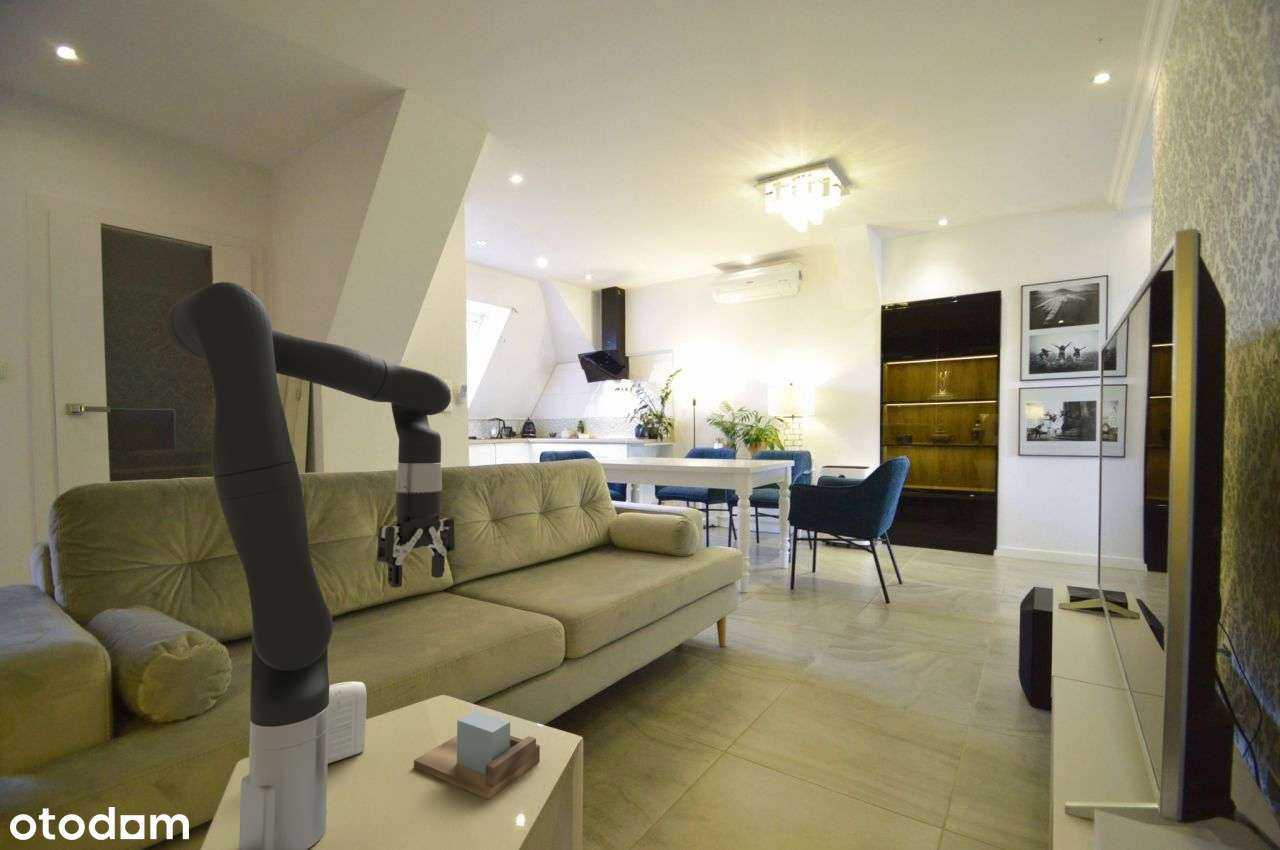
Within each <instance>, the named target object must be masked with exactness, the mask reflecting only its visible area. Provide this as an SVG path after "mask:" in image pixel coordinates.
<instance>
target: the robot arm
mask: <svg viewBox="0 0 1280 850" xmlns="http://www.w3.org/2000/svg"><path fill="white" fill-rule="evenodd" d="M271 323H272V322H271V319H270V315H269V314H268V311H267V308H266V307H265V305H264V303H263V302H262V301H261V300H260V298H259V297H258V296H257V295H256V294H255V293H253V292H252V291H251V290H249V289H248V288H247V287H245V286H243V285H240V284H238V283H236V282H230V281H221V282H220V281H219V282H215V283H210V284H207V285H205V286H203V287H201V288H198V289H197V290H195V291H192V293H189V294H188V295H186V296H183V297H182V298H181V299H179V300H178V301H177V302H175V303H174V304H173V305H171V307H170V308H169V310H168V311H167V313H166V316H165V319H164V326H165V331H166V334H167V336H168V338H169V339H170V341H171V343H172V344H173V345H174V346H175V347H176V348H177V349H178V350H180V351H181V352H182V353H184V354H186V355H187V356H190V357H192V358H193V359H197V360H201V361H205V362H206V364H207V368H208V371H209V375H210V379H211V382H212V385H213V386H212V387H213V392H214V394H213V395H214V417H213V425H212V434H211V435H212V436H211V446H210V447H211V450H210V453H211V454H210V461H211V470H212V474H213V475H212V476H213V479H214V482H215V483H214V484H215V488H216V492H217V497H218V501H219V504H220V508H221V510H222V514H223V516H224V520H225V523H226V526H227V529H228V532H229V535H230V538H231V541H232V543H233V546H234V547H235V550H236V552H237V555H238V558H239V560H240V562H241V564H242V568H243V571H244V574H245V577H246V578H245V579H246V581H247V587H248V593H249V602H250V608H251V619H252V628H251V629H252V630H251V668H250V669H251V670H250V671H251V672H250V673H251V674H250V701H249V702H250V704H249V705H250V708H249V709H250V712H249V713H250V721H249V747H248V750H249V751H248V752H249V753H248V754H249V755H248V774H247V775H245V776H243V777H242V779H241V780H240V807H239V808H240V809H239V814H240V815H239V835H238V837H239V838H238V840H239V841H238V843H239V844H238V848H239V849H238V850H308V849H309V848H310V849H311V848H312V847H313V846H314V845H315V844H316V843H317V842H318V841H319V840H321V839H322V838H323V835H324V834H325V831H326V829H327V813H328V811H327V805H328V804H327V799H328V798H327V797H328V794H327V793H328V792H327V791H328V724H329V686H330V678H329V663H328V661H329V660H328V657H329V656H328V653H329V652H328V648H329V647H328V646H329V644H330V642H331V639H332V636H333V631H334V619H333V616H332V614H331V611H330V609H329V607H328V605H327V603H326V601H325V599H324V596H323V593H322V591H321V588H320V585H319V582H318V580H317V576H316V573H315V570H314V566H313V562H312V559H311V553H310V545H309V544H310V543H309V532H308V521H307V514H306V513H307V512H306V505H305V500H304V499H305V498H304V493H303V488H302V482H301V477H300V474H299V469H298V465H297V461H296V457H295V453H294V451H293V450H294V449H293V446H292V445H293V444H292V442H291V436H290V432H289V428H288V422H287V419H286V415H285V411H284V406H283V403H282V399H281V396H280V395H281V394H280V389H279V384H278V376H277V374H279V375H283V376H287V377H292V378H294V379H299V380H301V381H306V382H309V383H313V384H317V385H320V386H322V387H327V388H330V389H333V390H336V391H339V392H343V393H345V394H349V395H351V396H354V397H358V398H359V399H360V398H361V399H364V400H367V401H370V402H371V401H372V402H376V403H390V405H391V412H392V418H393V422H394V426H395V431H396V434H397V437H398V457H397V458H398V460H397V462H398V463H397V470H396V471H397V472H396V477H395V516H396V518H397V521H396V525H394V526H392V525H391V526H389V525H380V526H379V529H378V538H377V539H378V540H377V551H376V561H377V562H378V563H381V564H382V563H383V564H386V565H387V582H388V584H389V585H390V587H391V588H394V589H395V588H396V589H398V588H401V587H402V586H403V565H402V563H403V562H404V560H405V557H406V556H407V555H409V554H410V553H411V551H412V550H413V549H419V548H420V547H427V548H428V549H429V550H430V552H431V553H432V554H433V555H431V577H432V578H437V579H440V578H442V577H443V576H444V572H445V559H446V555H447V554H448V553H449V552H453V551H454V550H455V548H456V547H455V520H454V519H453V518H449V517H441V518H440V517H439V516H440V515H441V514H442V505H443V504H442V503H443V502H442V499H443V497H442V496H443V472H442V463H441V462H442V438H441V435H440V433H439V432H437V431H436V430H434V429H432V428H430V423H429V419H428V416H434V415H438V414H441V413H442V412H444V411H445V410H446V409H447V408H448V407H449V406H450V403H451V399H452V394H451V390H450V387H449V386H448V384H447V382H445V380H443V379H442V378H441V377H439V376H438V375H435V374H433V373H430V372H428V371H423V370H420V369H419V370H418V369H415V368H411V367H407V366H402V365H397V364H393V363H391V362H388V361H386V360H385V359H381V358H379V357H377V356H373V355H371V354H369V353H366V352H364V351H361V350H357V349H355V348H350V347H347V346H343V345H339V344H335V343H334V344H333V343H329V342H322V341H318V340H312V339H307V338H302V337H298V336H294V335H290V334H286V333H284V332H280V331H278V330H276V329H272V324H271ZM438 533H439V534H438ZM396 537H397V538H396ZM395 539H396V540H395Z"/></svg>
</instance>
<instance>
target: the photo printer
mask: <svg viewBox="0 0 1280 850" xmlns="http://www.w3.org/2000/svg"><path fill="white" fill-rule="evenodd" d="M367 697H368V696H367V689H366V684H365V683H364V682H363V681H343V682H338V683H334V684H331V685H330V684H329V724H328V764H332V763H334V762H337V761H340V760H343V759H347V758H350V757H352V756H354V755H357V754H360V753H363V752H364V751H365V747H366V724H367V723H366V722H367V720H366V719H367ZM328 764H327V765H328Z"/></svg>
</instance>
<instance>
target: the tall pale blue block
mask: <svg viewBox="0 0 1280 850" xmlns="http://www.w3.org/2000/svg"><path fill="white" fill-rule="evenodd" d="M456 726H457V727H456V728H457V729H456V730H457V731H456V736H457V764H460V765H462V766H465V767H467V768H470V769H472V770H475V771H477V772H480V773H482V774H485V775H486V764H488V763H489V762H491V761H492V760H494V759H495V758H497V757H498V756H500V755H501V754H503V753H504V752H506V751H507V750H509V749H510V735H511V721H509V720H506V719H503V718H500V717H497V716H494V715H491V714H488V713H484V712H482V711H478V710H473V711H472V712H470V713H468V714H466V715H465V716H463V717H461V718H459V719H457V723H456Z"/></svg>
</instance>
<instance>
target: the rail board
mask: <svg viewBox="0 0 1280 850" xmlns="http://www.w3.org/2000/svg"><path fill="white" fill-rule="evenodd" d="M540 746H541V745H539V744H537V738H536V737H532V736H530V735H528V736H527V737H525V738H524V739H522V738H519V737H516V736H514V735H511V734H510V749H509V750H507V751H506V752H504V753H503V754H501V755H500V756H498V757H497V758H495V759H494V760H492V761H491V762H489V763H488V764H486V775H485V774H482V773H480V772H477V771H475V770H472V769H470V768H467V767H465V766H462V765H460V764H457V735H455V736H453V737H452V738H450V739H449V740H446V741H445V742H443V743H441V744H440V745H438V746H436V747H434V748H433V749H431V750H430V751H428V752H425V753H424V754H422V755H420V756H419V757H417V758H415V759H413V768H415V769H417V770H418V771H421V772H424V773H425V774H428V775H431V776H433V777H436V778H437V779H440V780H442V781H444V782H447V783H449V784H452V785H454V786H456V787H459V788H461V789H464V790H466V791H468V792H470V793H473V794H475V795H477V796H479V797H482V798H484V799H485V800H489V799H491V798H492V797H494V796H495V795H496V794H498V793H499V792H500V791H502V790H503V789H504V788H505V787H507V786H508V785H510V784H511V783H512V782H514V781H515V780H517V779H518V778H519V777H520V776H522V775H523V774H524V773H526V772H527V771H529V770H530V769H531V768H532V767H534V766H535V765H536V764H538V763H539V762H540V760H541V758H540V756H541V751H540V748H541V747H540Z"/></svg>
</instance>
